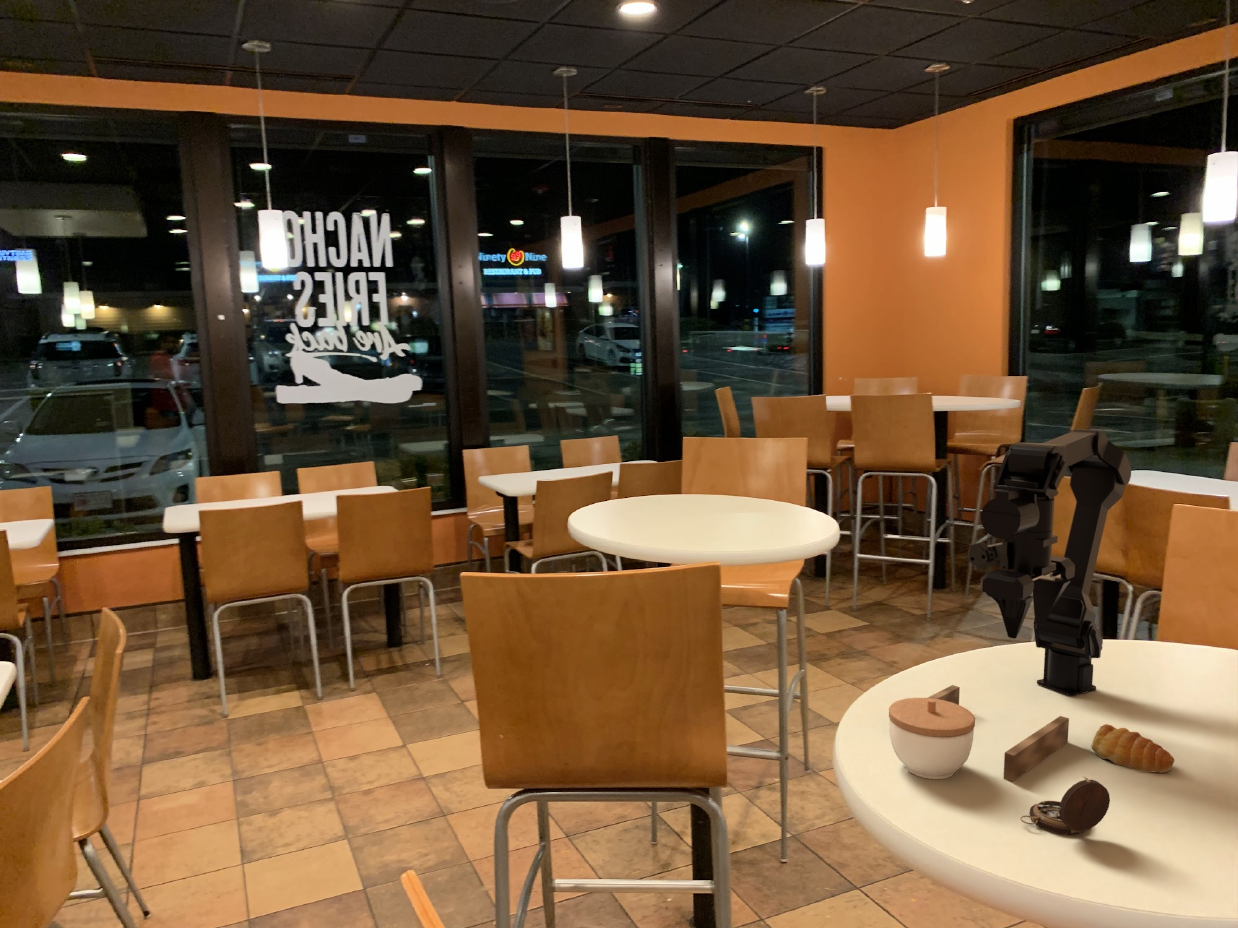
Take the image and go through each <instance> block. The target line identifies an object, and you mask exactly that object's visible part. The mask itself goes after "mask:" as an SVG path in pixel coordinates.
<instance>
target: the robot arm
mask: <svg viewBox="0 0 1238 928" xmlns="http://www.w3.org/2000/svg"><path fill="white" fill-rule="evenodd" d="M1001 462H1002V463H1001V465H1000V468H999V471H998V472H997V476H996V477H995V478H996V479H995V480H994V484H993V490H994V491H995V496H994V497H995V498H993V499H990V500H989V501H987V502H986V503H985V504H984V505H983V508H982V510H981V512H980V522H981V525H982V527H983V528H984V531H986V532H987V534H989V535H990V536H992V537H994V538H996V539H1001V542H998V543H992V544H987V543H986V542H985V541H981V542H977V543H972V544H970V545H969V548H968V551H967V556H966V561H967V562H969V563H970V564H971V565H972V566H973V567H974V571H980V570H983V569H984V568H989V567H994V566H995V567H996V566H999V568H996V569H994V570H991V571H989V572H986V573H985V574H984V575H983V576H981V577H980V589H979V590H980V592H983V593H985V595H986V597H990V598H991V599H993V600H994V602H996V603H997V605H998V608H999V610H1000V614H1001V616H1002V617H1001V618H1002V621H1003V624H1004V628H1005V630H1006V636H1007V637H1008V638H1009V639H1014V640H1015V639H1017V637H1018V636H1019V633H1020V631H1021V629H1022V626H1023V624H1024V622H1025V619H1026V617H1027V614H1028V611H1029V609H1030V607H1031V604H1032V603H1033V612H1034V613H1033V614H1034V616H1033V617H1034V619H1033V631H1034V632H1033V633H1034V640H1035V647H1036V648H1039V649H1044V660H1043V661H1044V662H1043V677H1042V678H1040V679H1037V680H1036V684H1037V685H1039V686H1041V687H1045V688H1048V689H1050V690H1052V691H1055V692H1057V693H1062V694H1064V695H1066V696H1070V697H1072V696H1077V695H1081V694H1085V693H1088V692H1092V691H1095V690H1097V686H1096V685H1095V684H1094V685H1093V682H1094V681H1093V679H1094V678H1093V677H1094V664H1093V663H1092V659H1100V658H1101V656H1102V653H1101V652H1102V650H1103V644H1104V640H1103V637H1102V636H1101V634H1100V633H1101V632H1100V631H1099V629H1098V627H1097V625H1096V618H1097V617H1096V616H1097V613H1096V611H1095V609H1094V606H1093V604H1092V602H1091V601H1092V600H1091V598H1090V592H1091V591H1090V590H1091V586H1092V583H1093V577H1094V575H1095V570H1096V565H1097V560H1098V555H1099V551H1100V546H1101V544H1102V543H1101V542H1102V539H1103V534H1104V529H1105V525H1106V520H1107V515H1108V512H1109V510H1110V509H1112V507H1113V506H1114V505H1116V504H1117V502H1119V501H1120V500H1121V499H1122V498H1123V496H1124V493H1125V489H1126V486H1127V485H1128V484H1130V483H1129V482H1130V481H1131V477H1132V466H1131V463H1130V461H1129V459H1128V457H1127V455H1126V452H1125V451H1124V450H1123V449H1121V448H1120V447H1118V446H1117V445H1116V444H1114V443H1112V442H1111V441H1109V439H1108V437H1107V434H1106V432H1102V431H1101V430H1100V429H1097V430H1095V429H1079V428H1075V429H1073V430H1072V429H1071V430H1069V431H1068V432H1067V433H1065V434H1062V435H1060V436H1057V437H1055V438H1053V439H1050V440H1047V441H1045V442H1042V443H1040V442H1039V443H1038V442H1037V443H1036V442H1014V443H1013V444H1011V446H1010V447H1009V449H1008V450H1007V451H1006V452H1005V454H1004V456H1003V459H1002V461H1001ZM1066 471H1067V474H1068V476H1069V478H1070V480H1069V487H1070V489H1071V491H1072V494H1073V496H1074V499H1075V501H1076V502H1075V507H1074V511H1073V516H1072V519H1071V524H1070V529H1069V533H1068V537H1067V541H1066V545H1065V551H1064V555H1063V556H1058V555H1052V551H1053V545H1054V544H1057V543H1058V540H1059V539H1058V535H1054V533H1053V532H1054V531H1053V530H1054V515H1055V514H1054V513H1055V512H1054V511H1055V497H1057V496H1058V495H1059V490H1058V488H1059V487H1060V484H1061V482H1062V480H1063V478H1064V477H1066Z"/></svg>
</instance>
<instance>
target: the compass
mask: <svg viewBox="0 0 1238 928" xmlns="http://www.w3.org/2000/svg"><path fill="white" fill-rule="evenodd" d="M1083 778H1084V779H1083V780H1079V781H1078V782H1076V783H1074V784H1073V785H1072V786H1071V787H1070V788H1068V789H1067V790H1066V792H1065V793H1064V795H1062V798H1061V801H1057V800H1042V801H1040V802H1038V803H1034V804H1033V805H1032V806H1031V807H1030V809H1029V815H1021V816H1020V818H1019V819H1020V821H1021V822H1022V823H1024V824H1027V825H1030V826H1031V825H1037V826H1039V827H1040V828H1042V829H1044V830H1047V831H1049V832H1052V833H1057V834H1061V835H1077V834H1081V833H1083V832H1085V831H1089V830H1091V829H1092V828H1094V827H1096V826H1097V825H1098V824H1099V823H1100V822H1101V821H1102V820H1103V819H1104V817H1105V816H1106V815H1107V813H1108V810H1109V807H1110V802H1111V798H1110V792H1109V791H1108V789H1107V787H1105V786H1104V785H1103V784H1102V783H1100V782H1099V781H1097V780H1095V779H1089V778H1087V777H1086V776H1083ZM1023 818H1030V821H1031V822H1027V821H1025V820H1023Z"/></svg>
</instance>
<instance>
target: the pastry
mask: <svg viewBox="0 0 1238 928" xmlns="http://www.w3.org/2000/svg"><path fill="white" fill-rule="evenodd" d="M1090 747H1091V750H1092V751H1093V752H1094V753H1095V754H1096V755H1097V756H1098V757H1099V758H1100V759H1103V760H1110V761H1111V762H1112V763H1114V764H1116V765H1119V766H1122V767H1123V766H1124V767H1128V768H1130V769H1134V770H1138V771H1144V772H1146V773H1147V772H1148V773H1153V772H1154V773H1161V774H1163V773H1167V772H1169V771H1170V770H1172V768H1173V765H1174V763H1175V757H1174V756H1173V755H1172V754H1171V753H1170V752H1168V750H1167V749H1164V748H1163V746H1162V745H1160V744H1158V743H1155V742H1153V740H1151V739H1149V738H1147V737H1144V736H1142V735H1141V733H1139V732H1137V731H1130V730H1129V729H1128V728H1125V727H1120V728H1117V727H1114V726H1113V725H1111V724H1108V723H1106V724H1103V725H1101V726H1100V727H1099V729H1098V730H1097V731H1096V733H1095V735H1094V737H1093V740H1092V744H1091V746H1090Z"/></svg>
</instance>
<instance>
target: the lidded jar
mask: <svg viewBox="0 0 1238 928" xmlns="http://www.w3.org/2000/svg"><path fill="white" fill-rule="evenodd" d="M888 718H889V724H888V725H889V738H890V741H891V742H890V743H891V746H892V749H893V752H894V754H895V755H896V757H897V758H898V760H899V761H900V762H901V763H902V764H903V765H904V767H905V769H906V770H907V771H908V772H909V773H911V774H913V775H914V776H917V777H920V778H922V779H923V778H924V779H929V780H945V779H948V778H950V777H952V776H953V775H954V773H956V772H957V771H958V770H960V769H961V768H962V767H963V766H964V764H965V763H966V762H967V761H968V759H969V757H970V754H971V751H972V746H973V743H974V730H975V726H976V717H975V715H974V714H973V712H972V711H970V710H969V709H968V708H966V707H964V706H962V705H960V704H959V705H958V704H955V703H952V702H948V701H944V700H940V699H933V698H928V697H907V698H903V699H899V700H896V701H895V702H893V703H892V704H890V706H889V707H888Z"/></svg>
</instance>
